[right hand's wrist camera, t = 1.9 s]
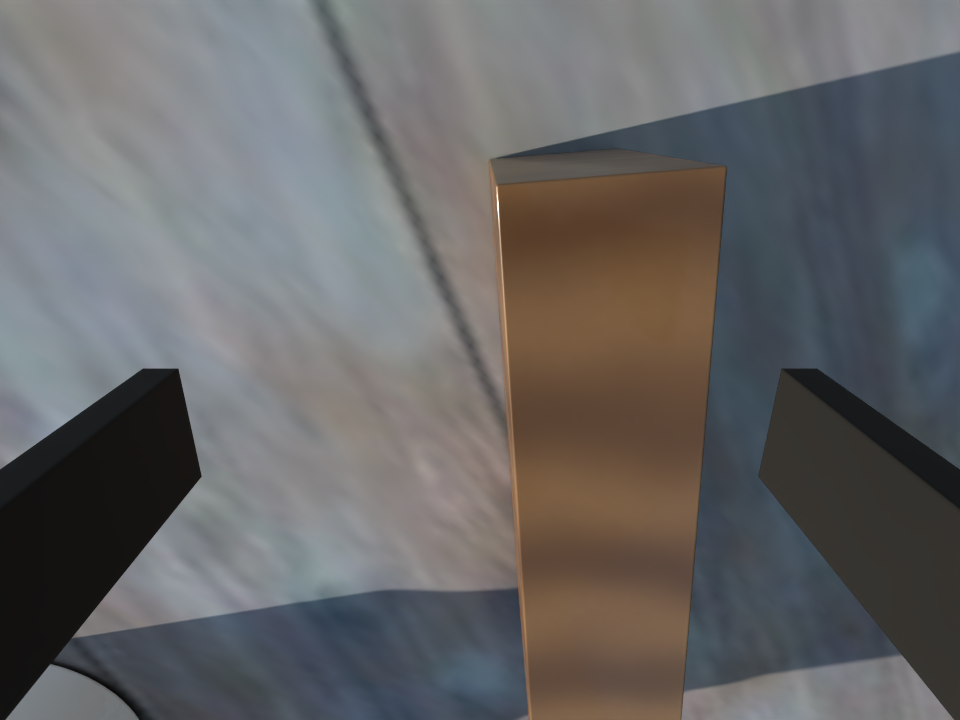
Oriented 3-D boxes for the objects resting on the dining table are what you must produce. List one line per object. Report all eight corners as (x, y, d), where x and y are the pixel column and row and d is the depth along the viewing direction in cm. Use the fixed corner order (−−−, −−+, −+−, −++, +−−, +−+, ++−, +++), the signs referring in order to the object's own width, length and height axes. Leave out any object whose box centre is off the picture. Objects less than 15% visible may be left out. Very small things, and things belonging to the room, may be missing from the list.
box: (488, 159, 26) (495, 184, 15) (619, 148, 26) (728, 165, 15) (518, 590, 36) (535, 806, 25) (613, 585, 36) (675, 800, 24)
